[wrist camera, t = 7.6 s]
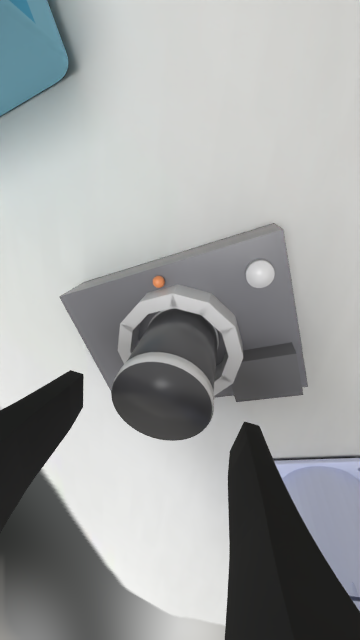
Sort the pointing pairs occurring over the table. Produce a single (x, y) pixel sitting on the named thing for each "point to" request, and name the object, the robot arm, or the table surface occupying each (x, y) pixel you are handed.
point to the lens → (169, 377)
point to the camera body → (205, 311)
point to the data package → (28, 51)
